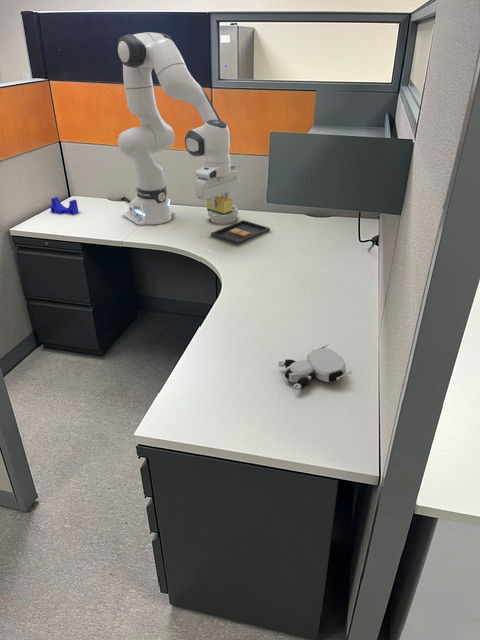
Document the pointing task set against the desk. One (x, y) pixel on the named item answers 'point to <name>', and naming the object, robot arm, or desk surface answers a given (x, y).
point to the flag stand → (224, 216)
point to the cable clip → (60, 209)
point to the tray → (241, 225)
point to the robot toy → (315, 367)
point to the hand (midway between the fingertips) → (219, 205)
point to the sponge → (221, 205)
